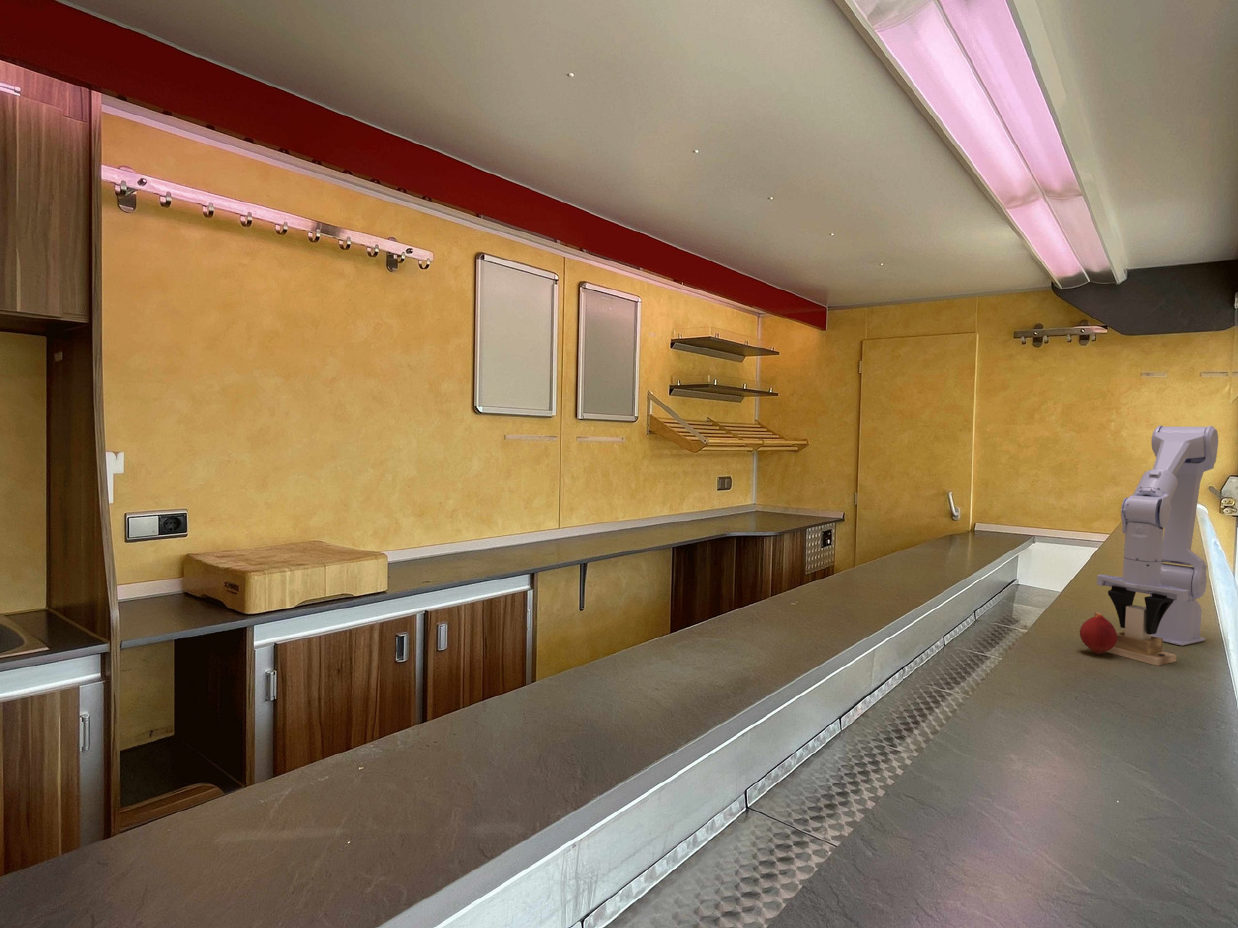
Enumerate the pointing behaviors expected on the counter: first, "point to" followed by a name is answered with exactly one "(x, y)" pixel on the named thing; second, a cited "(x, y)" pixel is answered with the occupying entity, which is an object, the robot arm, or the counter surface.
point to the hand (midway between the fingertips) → (1138, 630)
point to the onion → (1098, 634)
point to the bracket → (1142, 650)
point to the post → (1136, 623)
